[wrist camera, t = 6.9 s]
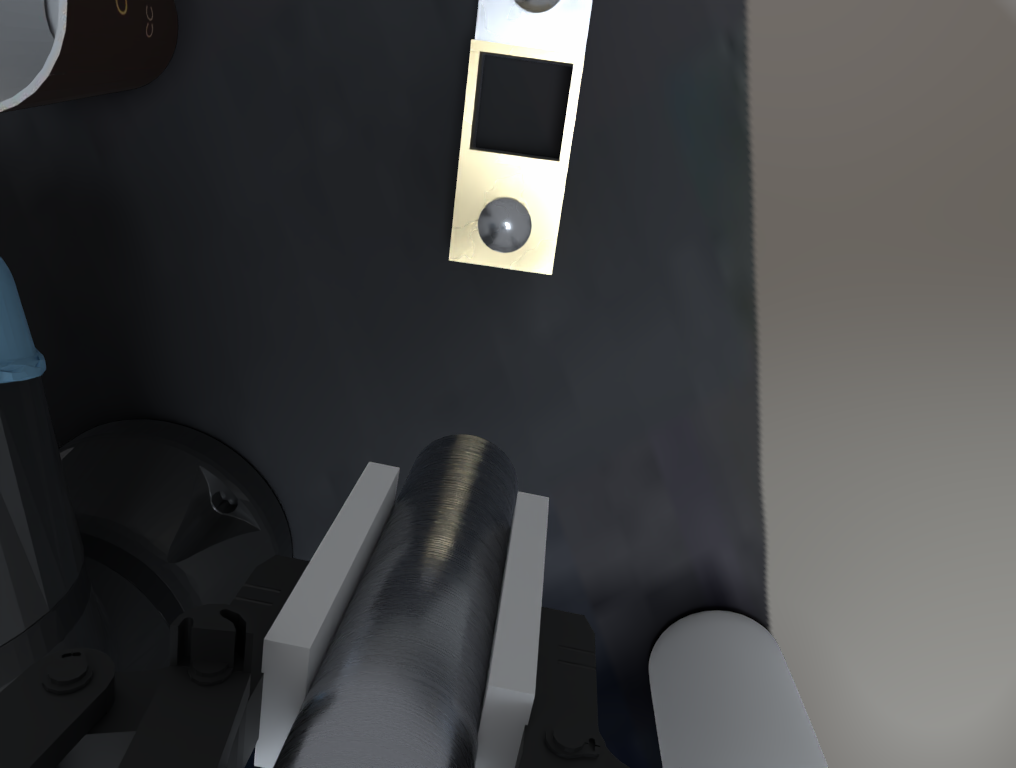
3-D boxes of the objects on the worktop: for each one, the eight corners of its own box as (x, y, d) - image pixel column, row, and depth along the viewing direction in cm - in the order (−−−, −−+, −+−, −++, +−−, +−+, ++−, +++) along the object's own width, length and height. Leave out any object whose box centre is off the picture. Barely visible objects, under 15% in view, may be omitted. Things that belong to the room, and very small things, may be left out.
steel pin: (404, 519, 21) (130, 1165, 8) (418, 424, 20) (131, 990, 7) (507, 540, 21) (398, 1225, 8) (527, 446, 20) (437, 1057, 7)
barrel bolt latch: (455, 251, 37) (446, 262, 34) (489, -73, 32) (482, -91, 29) (552, 264, 37) (551, 277, 34) (600, -58, 32) (604, -74, 29)
